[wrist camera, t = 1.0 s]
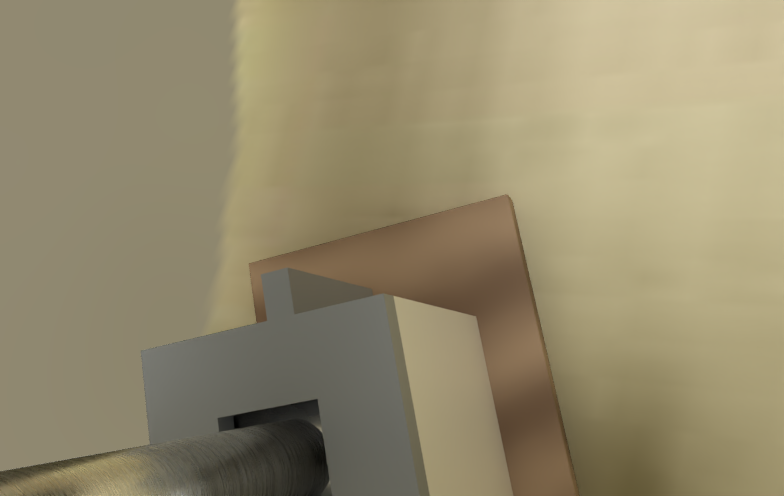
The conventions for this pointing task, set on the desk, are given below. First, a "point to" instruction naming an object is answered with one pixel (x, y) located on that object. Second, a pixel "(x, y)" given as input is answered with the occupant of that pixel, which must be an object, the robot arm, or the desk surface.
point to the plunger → (197, 463)
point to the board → (469, 296)
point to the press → (346, 386)
